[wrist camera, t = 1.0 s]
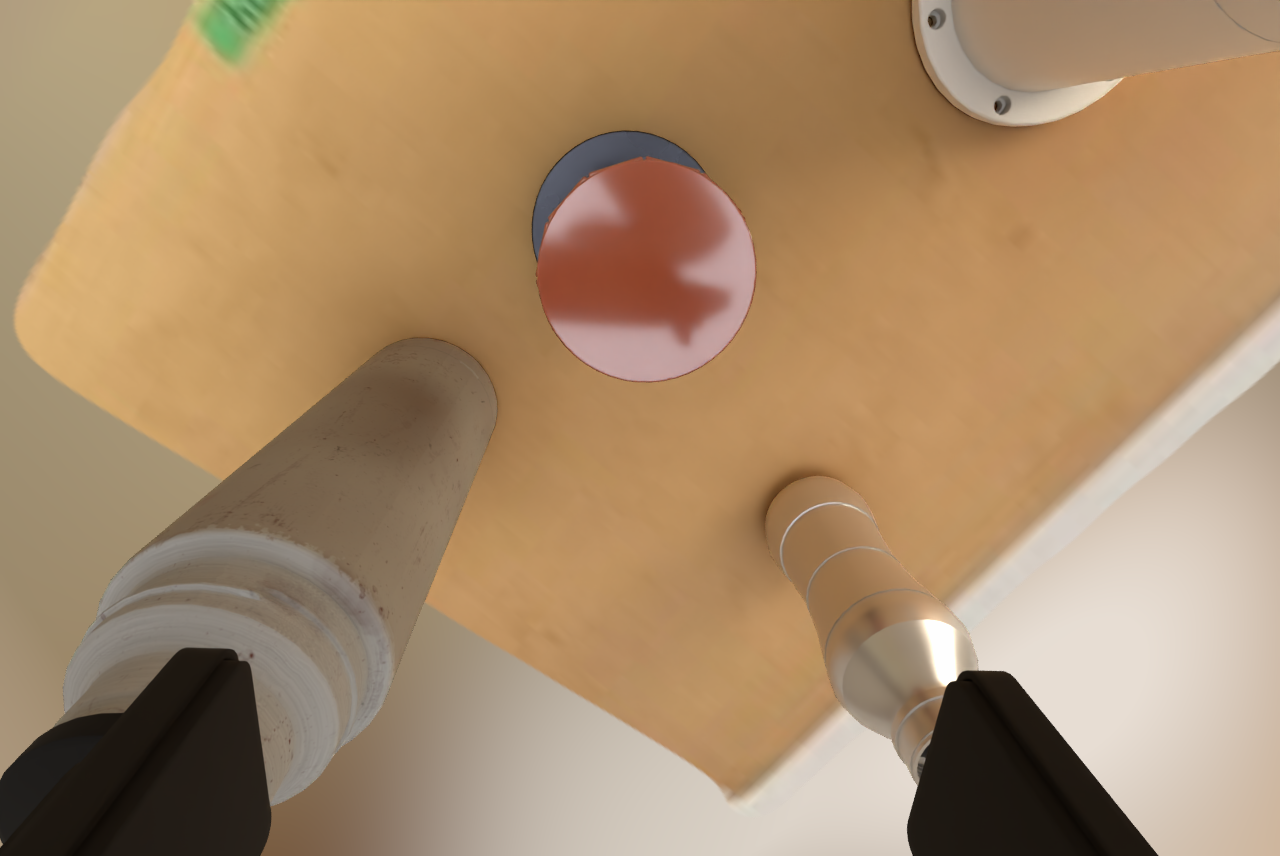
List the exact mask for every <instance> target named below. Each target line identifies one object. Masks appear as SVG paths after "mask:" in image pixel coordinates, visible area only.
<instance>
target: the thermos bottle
mask: <svg viewBox="0 0 1280 856" xmlns="http://www.w3.org/2000/svg"><path fill="white" fill-rule="evenodd" d="M496 417H497V399H496V395H495V391H494V388H493V385H492V383H491V381H490V379H489V377H488V375H487V373H486V372H485V371H484V369H483V368H482V367H481V366H480V364H479V363H478V362H477V361H476V360H475V359H474V358H472V357H471V356H470V355H469V354H468V353H466V352H465V351H463V350H461V349H460V348H458V347H457V346H454V345H452V344H449V343H447V342H444V341H441V340H436V339H430V338H411V339H406V340H401V341H398V342H396V343H393V344H391V345H388V346H387V347H385V348H384V349H382V350H381V351H379V352H378V353H376V354H375V355H374V356H373V357H371V358H370V359H369V360H368V361H367V362H365V363H364V364H363V365H362V366H361V367H359V368H358V369H357V370H356V371H355V372H353V373H352V374H351V375H350V376H349V377H347V378H346V379H345V380H344V381H343V382H341V383H340V384H339V385H338V386H337V387H335V388H334V389H333V390H332V391H331V392H329V393H328V394H327V395H326V396H325V397H323V398H322V399H321V400H320V401H319V402H317V403H316V404H315V405H314V406H313V407H311V408H310V409H309V410H308V411H307V412H305V413H304V414H303V415H302V416H301V417H299V418H298V419H297V420H296V421H295V422H293V423H292V424H291V425H290V426H289V427H287V428H286V429H285V430H284V431H283V432H281V433H280V434H279V435H278V436H277V437H275V438H274V439H273V440H272V441H271V442H269V443H268V444H267V445H266V446H265V447H263V448H262V449H261V450H260V451H259V452H257V453H256V454H255V455H254V456H253V457H251V458H250V459H249V460H248V461H247V462H245V463H244V464H243V465H242V466H241V467H239V468H238V469H237V470H236V471H235V472H233V473H232V474H231V475H230V476H229V477H227V478H226V479H225V480H224V481H223V482H221V483H220V484H219V485H218V486H217V487H215V488H214V489H213V490H212V491H211V492H209V493H208V494H207V495H206V496H205V497H204V498H202V499H201V500H200V501H199V502H198V503H196V504H195V505H194V506H193V507H191V508H190V509H189V510H188V511H187V512H186V513H184V514H183V515H182V516H181V517H179V518H178V519H177V520H176V521H175V522H173V523H172V524H171V525H170V526H169V527H167V528H166V529H165V530H164V531H163V532H162V533H160V534H159V535H158V536H157V537H155V538H154V539H153V540H152V541H151V542H149V543H148V544H147V545H146V546H145V547H143V548H142V549H141V550H140V551H139V552H138V553H136V554H135V555H134V556H133V557H132V558H130V559H129V560H128V562H127V563H126V564H125V565H124V566H123V567H122V568H121V569H120V570H119V571H118V572H117V574H116V575H115V576H114V577H113V578H112V579H111V581H110V583H109V585H108V587H107V589H106V591H105V593H104V594H103V596H102V598H101V600H100V603H99V607H98V612H97V617H96V620H95V621H94V622H93V623H92V624H91V626H90V627H89V628H88V630H87V632H86V634H85V636H84V638H83V640H82V642H81V644H80V645H79V646H78V648H77V649H76V651H75V653H74V655H73V657H72V659H71V661H70V663H69V665H68V667H67V670H66V675H65V680H64V686H63V697H64V711H65V714H64V715H63V716H62V717H61V718H60V720H59V721H58V722H57V723H56V724H55V726H54V727H53V728H52V729H50V730H49V731H48V732H46V733H44V734H43V735H41V736H40V737H38V738H37V739H36V740H35V741H34V742H33V743H32V744H31V745H30V746H29V747H28V748H27V749H26V750H25V751H24V752H23V753H22V754H21V755H20V756H19V757H18V758H17V759H16V760H15V762H14V763H13V764H12V765H11V766H10V767H9V768H8V769H7V770H6V771H5V772H4V774H3V776H2V778H1V780H0V839H1V841H2V843H3V844H4V843H5V842H6V841H7V839H8V838H9V837H10V836H11V835H12V834H13V833H14V832H15V830H16V829H17V828H18V827H19V826H20V825H21V824H22V822H23V821H24V820H25V819H26V818H27V817H28V816H29V814H30V813H31V812H32V811H33V810H34V809H35V808H36V806H37V805H38V804H39V803H40V802H41V801H42V800H43V799H44V797H45V796H46V795H47V794H48V793H49V792H50V791H51V789H52V788H53V787H54V786H55V785H56V784H57V783H58V781H59V780H60V779H61V778H62V777H63V776H64V775H65V774H66V773H67V772H68V771H69V770H70V769H71V768H72V767H74V766H75V765H76V764H77V763H79V762H81V761H82V760H83V759H84V758H85V757H86V755H87V754H88V753H89V752H90V751H91V750H92V749H93V747H94V746H95V745H96V744H97V743H98V742H99V741H100V739H101V738H102V737H103V736H104V735H105V734H106V733H107V731H108V730H109V729H110V728H111V727H112V726H113V724H114V723H115V722H116V721H117V720H118V719H119V718H120V716H121V715H122V714H123V713H124V712H125V711H126V710H127V708H128V707H129V706H130V705H131V704H132V703H133V701H134V700H135V699H136V698H137V697H138V696H139V695H140V693H141V692H142V691H143V690H144V689H145V688H146V687H147V685H148V684H149V683H150V682H151V681H152V680H153V679H154V677H155V676H156V675H157V674H158V673H159V672H160V670H161V669H162V668H163V667H164V666H165V665H166V664H167V662H168V661H169V660H170V659H171V658H172V657H173V656H174V655H175V654H176V653H177V652H178V651H179V650H180V649H183V648H186V647H193V648H227V649H233V650H234V651H235V652H236V653H237V655H238V659H239V661H247V662H248V663H249V664H250V667H251V671H252V678H253V685H254V692H255V700H256V707H257V714H258V721H259V728H260V736H261V743H262V750H263V757H264V765H265V772H266V779H267V786H268V794H269V801H270V806H273V805H276V804H278V803H281V802H284V801H286V800H288V799H289V798H291V797H293V796H294V795H296V794H298V793H300V792H301V791H303V790H305V789H306V788H307V787H308V786H309V785H310V784H311V783H312V782H313V781H315V780H316V779H317V778H318V777H319V776H320V775H321V773H322V772H323V771H324V769H325V768H326V766H327V765H328V763H329V762H330V760H331V759H332V757H333V755H334V754H335V753H336V752H337V751H338V750H339V749H340V748H341V746H343V745H344V744H346V743H348V742H349V741H351V740H353V739H354V738H355V737H356V736H357V735H358V734H359V733H360V732H361V731H363V729H365V728H366V727H367V726H368V725H369V724H370V723H371V721H372V720H373V718H374V717H375V716H376V714H377V713H378V711H379V710H380V708H381V707H382V705H383V704H384V702H385V699H386V697H387V694H388V692H389V689H390V687H391V684H392V682H393V679H394V677H395V674H396V672H397V669H398V666H399V664H400V661H401V659H402V656H403V654H404V651H405V649H406V646H407V644H408V641H409V639H410V636H411V633H412V631H413V628H414V626H415V624H416V621H417V618H418V616H419V614H420V611H421V609H422V606H423V604H424V601H425V599H426V597H427V594H428V592H429V589H430V587H431V584H432V582H433V580H434V577H435V575H436V572H437V570H438V567H439V565H440V562H441V560H442V557H443V555H444V552H445V550H446V547H447V545H448V542H449V540H450V537H451V535H452V532H453V530H454V527H455V525H456V522H457V520H458V517H459V515H460V512H461V510H462V507H463V505H464V502H465V500H466V497H467V495H468V492H469V490H470V487H471V485H472V482H473V480H474V477H475V475H476V472H477V470H478V467H479V465H480V462H481V460H482V457H483V455H484V452H485V450H486V447H487V445H488V442H489V440H490V437H491V435H492V432H493V430H494V427H495V424H496Z"/></svg>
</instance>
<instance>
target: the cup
mask: <svg viewBox="0 0 1280 856" xmlns="http://www.w3.org/2000/svg"><path fill="white" fill-rule="evenodd" d="M548 219H549V220H548V221H547V222H546V223H545V227H544V232H543V238H542V242H541V246H540V250H539V256H538V264H537V270H536V277H537V280H536V284H537V287H538V289H539V295H540V299H541V303H542V306H543V310H544V312H545V314H546V317H547V319H548V322H549V323H550V325H551V327H552V330H553V331H554V332H555V334H556V336H557V337H558V338H559V339H560V341H561V342H562V343H563V344H564V346H565V347H566V348H567V349H568V350H569V351H570V352H571V353H572V354H573V355H574V356H576V357H577V358H578V359H579V360H581V361H582V362H583V363H585V364H586V365H588V366H589V367H591V368H593V369H595V370H596V371H598V372H601V373H603V374H605V375H608V376H610V377H614V378H617V379H621V380H625V381H632V382H659V381H666V380H670V379H674V378H678V377H681V376H683V375H686V374H689V373H691V372H693V371H695V370H697V369H699V368H701V367H702V366H704V365H705V364H707V363H708V362H710V361H711V360H713V359H714V358H715V357H716V356H717V355H718V354H719V353H721V352H722V351H723V350H724V349H725V348H726V347H727V345H728V344H729V343H730V342H731V341H732V340H733V338H734V337H735V335H736V334H737V332H738V331H739V330H740V328H741V326H742V324H743V322H744V320H745V318H746V316H747V314H748V311H749V309H750V306H751V303H752V300H753V295H754V291H755V284H756V274H757V271H756V255H755V249H754V244H753V240H752V237H751V234H750V230H749V228H748V226H747V224H746V221H745V218H744V217H743V215H742V214H741V210H740V209H739V208H738V207H737V206H736V204H735V203H734V202H733V201H732V199H731V198H730V197H729V196H728V195H727V193H726V192H725V191H723V190H722V189H721V188H720V187H719V186H718V185H717V184H716V183H715V182H713V181H712V180H711V179H710V178H709V177H708V176H707V175H706V174H705V173H700V170H698V169H695V168H691V167H687V166H683V165H680V164H677V163H673V162H668V161H664V160H660V159H656V158H652V157H648V156H647V157H643V158H642V157H637V158H633V159H629V160H626V161H623V162H620V163H616V164H613V165H610V166H607V167H604V168H601V169H597V170H594V171H592V172H590V173H589V174H587V175H585V176H584V177H583V178H582V179H581V180H580V181H579V182H578V183H577V185H576V186H575V187H574V188H573V189H572V190H571V191H570V193H569V194H568V195H567V196H566V197H565V198H564V200H563V201H562V202H561V203H560V204H559V205H558V206H557V208H556V209H555V210H554V211H553V212H552V213H551V214H550V216H549V217H548Z"/></svg>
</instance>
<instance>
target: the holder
mask: <svg viewBox="0 0 1280 856" xmlns="http://www.w3.org/2000/svg"><path fill="white" fill-rule="evenodd" d="M647 156H648V157H652V158H656V159H660V160H664V161H668V162H673V163H677V164H680V165H683V166H687V167H691V168H695V169H698V170H700V173H705V171H704V170H703V169H702V167H701V166H700V165H699V164H698V163H697V161H696V160H695V159H694V158H693V157H691V156H690V155H689V154H688V153H687V152H686V151H685V150H683V149H682V148H680V147H679V146H677V145H676V144H674V143H672V142H670V141H668V140H666V139H664V138H662V137H659V136H656V135H653V134H650V133H645V132H639V131H616V132H609V133H605V134H601V135H598V136H595V137H593V138H590V139H588V140H586V141H584V142H582V143H581V144H579V145H577V146H575V147H574V148H573V149H571V150H570V151H569V152H568V153H566V154H565V155H564V156H563V157H562V158H561V159H560V160H559V161H558V162H557V163H556V164H555V166H554V167H553V168H552V170H551V171H550V172H549V174H548V175H547V177H546V179H545V180H544V182H543V184H542V186H541V188H540V191H539V193H538V196H537V198H536V203H535V207H534V211H533V218H532V241H533V248H534V253H535V257H536V260H537V263H538V256H539V250H540V246H541V242H542V238H543V232H544V227H545V223H546V222H547V221H548V220H549V219H548V217H549V216H550V214H551V213H552V212H553V211H554V210H555V209H556V208H557V206H558V205H559V204H560V203H561V202H562V201H563V200H564V198H565V197H566V196H567V195H568V194H569V193H570V191H571V190H572V189H573V188H574V187H575V186H576V185H577V183H578V182H579V181H580V180H581V179H582V178H583V177H584V176H585V175H587V174H589V173H590V172H592V171H594V170H597V169H601V168H604V167H607V166H610V165H613V164H616V163H620V162H623V161H626V160H629V159H633V158H637V157H642V158H643V157H647ZM705 174H706V173H705Z"/></svg>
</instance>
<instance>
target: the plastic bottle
mask: <svg viewBox="0 0 1280 856" xmlns="http://www.w3.org/2000/svg"><path fill="white" fill-rule="evenodd" d="M765 531H766V539H767V545H768V549H769V552H770V554H771V557H772V558H773V560H774V561H775V563H776V564H777V565H778V567H779V568H780V569H781V571H782V572H783V574H784V575H785V576H786V577H787V578H788V579H789V580H790V581H791V582H792V583H793V584H794V586H795V587H796V589H797V591H798V592H799V594H800V595H801V597H802V598H803V600H804V602H805V603H806V605H807V607H808V610H809V612H810V615H811V618H812V620H813V623H814V625H815V628H816V630H817V634H818V638H819V642H820V646H821V650H822V654H823V658H824V662H825V666H826V670H827V674H828V677H829V680H830V683H831V686H832V688H833V691H834V693H835V696H836V698H837V699H838V701H839V702H840V703H841V705H842V706H843V707H844V708H845V709H846V710H847V711H848V712H849V713H850V714H851V715H852V716H853V717H854V718H855V719H856V720H857V721H858V722H859V723H860V724H862V725H863V726H865V727H867V728H868V729H870V730H872V731H874V732H876V733H878V734H880V735H882V736H884V737H886V738H889V739H892V743H893V745H894V748H895V750H896V752H897V754H898V756H899V757H900V759H901V760H902V761H903V763H905V764H906V766H907V768H908V770H909V772H910V773H911V776H912V778H913V779H914V781H915V782H916V784H917V785H918V784H919V780H920V777H921V773H922V770H923V766H924V763H925V759H926V756H927V752H928V749H929V745H930V741H931V738H932V734H933V731H934V727H935V724H936V720H937V717H938V713H939V710H940V706H941V703H942V699H943V696H944V692H945V689H946V686H947V684H948V683H949V682H950V681H956V680H957V678H958V675H959V674H960V673H961V672H962V671H966V670H975V671H978V659H977V656H976V653H975V649H974V646H973V643H972V640H971V637H970V634H969V632H968V631H967V629H966V627H965V626H964V624H963V623H962V622H961V621H960V620H959V619H958V618H957V617H956V616H955V615H954V614H953V612H952V611H951V610H950V609H949V608H948V607H947V606H946V605H945V604H943V603H942V602H941V601H940V600H939V599H937V598H936V597H935V596H934V595H933V594H932V593H930V592H929V591H928V590H927V589H926V588H925V587H923V586H922V585H921V584H920V583H919V582H918V581H916V580H915V579H914V578H913V577H912V576H911V574H910V573H909V572H908V571H907V570H906V569H905V568H904V567H903V566H902V565H901V564H900V562H899V561H898V560H897V559H896V558H895V557H894V555H893V554H892V553H891V551H890V549H889V548H888V546H887V544H886V543H885V541H884V539H883V537H882V536H881V534H880V532H879V529H878V526H877V523H876V520H875V518H874V516H873V514H872V512H871V510H870V508H869V506H868V504H867V503H866V501H865V500H864V499H863V498H862V497H861V495H860V494H859V493H858V492H856V491H855V490H853V489H852V488H850V487H849V486H847V485H846V484H844V483H843V482H841V481H839V480H836V479H834V478H831V477H825V476H811V477H806V478H802V479H799V480H797V481H795V482H793V483H791V484H789V485H788V486H786V487H785V488H784V489H783V490H782V491H780V492H779V493H778V494H777V496H776V497H775V498H774V500H773V501H772V503H771V505H770V507H769V509H768V512H767V515H766V520H765Z"/></svg>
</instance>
